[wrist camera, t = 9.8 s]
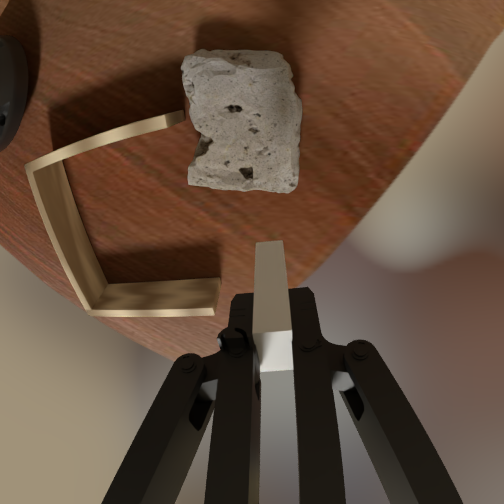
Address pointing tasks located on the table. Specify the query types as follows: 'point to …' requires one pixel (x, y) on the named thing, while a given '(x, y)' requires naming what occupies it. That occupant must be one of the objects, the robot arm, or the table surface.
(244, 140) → the stone
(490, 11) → the table surface
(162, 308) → the bracket
